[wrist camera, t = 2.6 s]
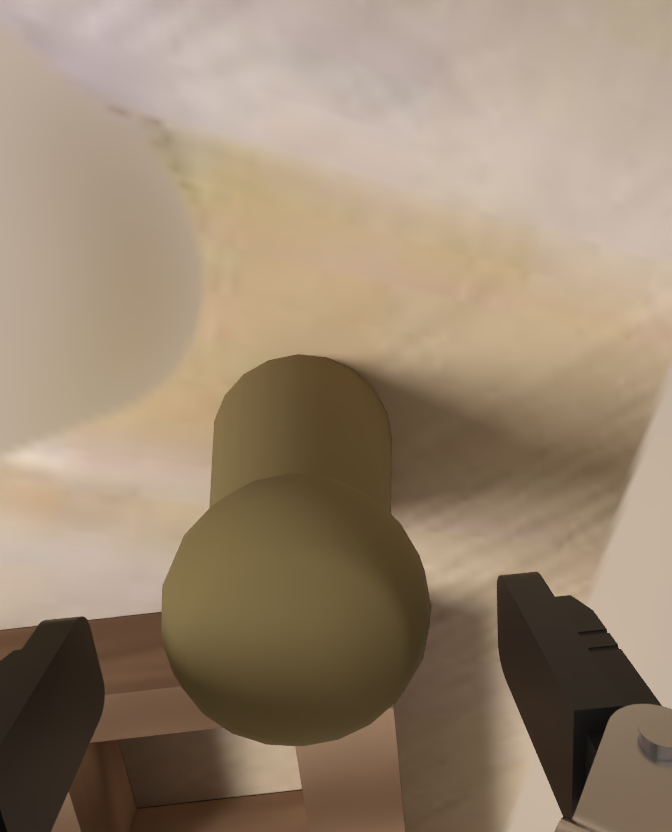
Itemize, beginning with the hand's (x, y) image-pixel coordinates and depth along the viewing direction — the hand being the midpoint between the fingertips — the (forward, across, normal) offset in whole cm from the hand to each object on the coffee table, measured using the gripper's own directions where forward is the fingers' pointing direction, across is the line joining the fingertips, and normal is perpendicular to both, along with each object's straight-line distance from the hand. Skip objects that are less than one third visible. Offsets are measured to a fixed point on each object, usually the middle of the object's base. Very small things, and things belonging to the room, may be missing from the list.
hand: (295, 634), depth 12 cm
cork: (+10, 0, -1) cm, 10 cm away
